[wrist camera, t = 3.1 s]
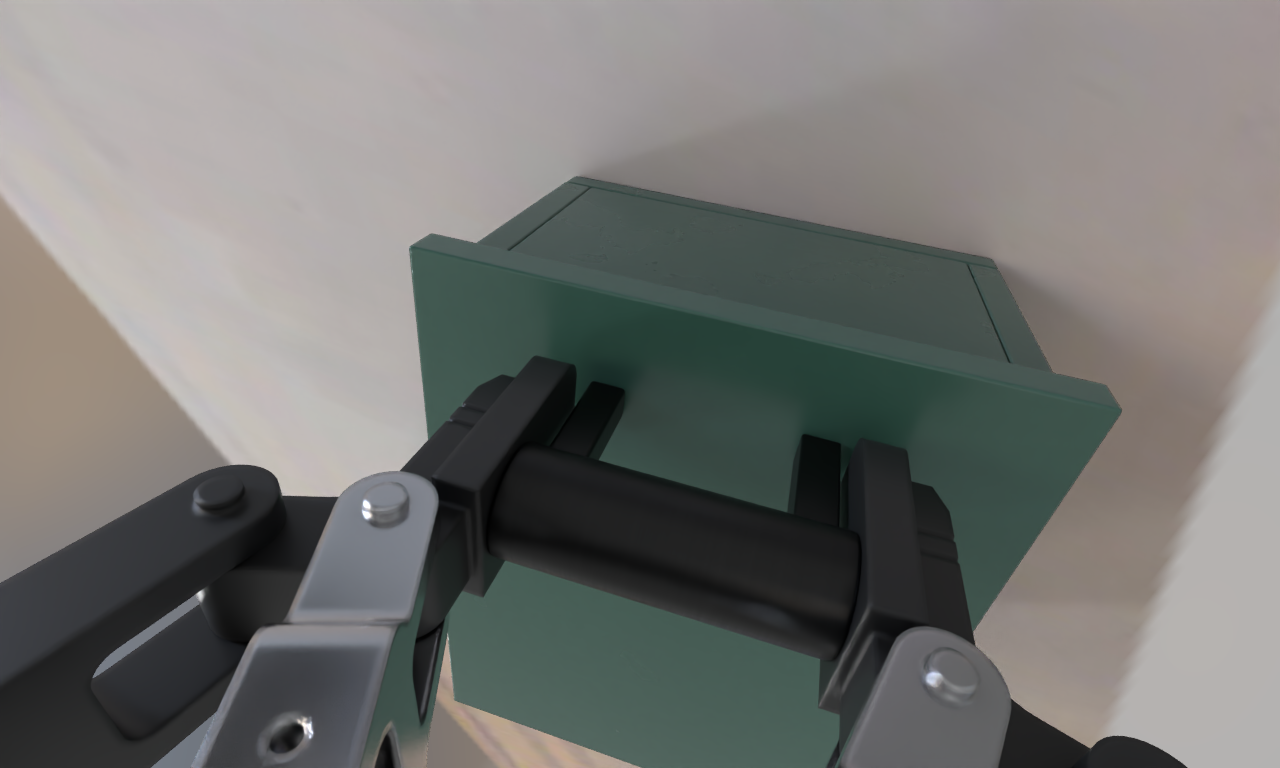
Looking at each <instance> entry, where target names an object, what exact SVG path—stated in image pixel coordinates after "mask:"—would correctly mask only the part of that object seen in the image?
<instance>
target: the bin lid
mask: <svg viewBox="0 0 1280 768" xmlns="http://www.w3.org/2000/svg"><path fill="white" fill-rule="evenodd" d="M409 252H410V262H411V272H412V282H413V292H414V302H415V312H416V322H417V332H418V342H419V352H420V362H421V372H422V382H423V392H424V402H425V412H426V422H427V432H428V440H429V439H430V438H431V437H432V436H433V434H434V433H435V432H436V431H437V430H438V429H439V428H440V427H441V426H442V425H443V424H444V423H445V421H446V420H447V421H449V419H450V416H451V415H452V414H453V413H454V412H455V411H456V410H457V408H458V407H459V406H460V407H462V404H463V402H464V401H465V400H466V399H467V398H468V397H469V395H470V394H471V393H472V392H473V391H474V390H475V389H476V388H477V387H478V386H479V385H481V384H483V383H485V382H487V381H489V380H491V379H493V378H495V377H497V376H499V375H501V374H503V375H507V376H511V377H516V376H517V375H518V374H519V372H520V371H521V370H522V369H523V368H524V367H525V365H526V364H527V363H528V362H529V361H530V360H531V358H532V357H534V356H536V355H537V356H541V357H545V358H549V359H553V360H557V361H561V362H565V363H569V364H573V365H575V367H576V371H577V378H576V393H575V408H574V409H573V411H572V412H571V414H570V415H569V417H568V418H567V420H566V421H565V423H564V424H563V426H562V428H561V429H560V431H559V432H558V434H557V435H556V437H555V438H554V440H553V441H552V443H551V444H550V446H546V445H542V444H539V443H535V442H528V443H525V444H524V445H522V446H521V447H520V448H519V449H518V450H517V451H516V453H515V454H514V455H513V457H512V458H511V460H510V462H509V463H508V465H507V467H506V469H505V471H504V473H503V475H502V477H501V480H500V482H499V485H498V487H497V490H496V493H495V496H494V499H493V503H492V506H491V510H490V515H489V521H488V529H487V545H488V549H489V551H490V553H491V554H492V555H493V556H494V557H496V558H499V559H502V560H505V562H504V564H503V565H502V567H501V569H500V570H499V572H498V574H497V575H496V577H495V579H494V580H493V582H492V584H491V585H490V587H489V589H488V591H487V592H486V594H485V596H484V597H483V598H482V597H479V596H476V595H473V594H470V593H467V592H464V591H462V592H461V593H460V595H459V597H458V598H457V600H456V601H455V603H454V604H453V606H452V608H451V609H450V611H449V616H450V621H449V628H448V643H449V653H450V663H451V673H452V683H453V693H454V700H455V701H458V702H460V703H463V704H466V705H469V706H472V707H474V708H477V709H480V710H483V711H485V712H488V713H491V714H494V715H497V716H499V717H502V718H505V719H508V720H511V721H513V722H516V723H519V724H522V725H524V726H527V727H530V728H533V729H536V730H538V731H541V732H544V733H547V734H550V735H552V736H555V737H558V738H561V739H563V740H566V741H569V742H572V743H575V744H577V745H580V746H583V747H586V748H589V749H591V750H594V751H597V752H600V753H602V754H605V755H608V756H611V757H614V758H616V759H619V760H622V761H625V762H628V763H630V764H633V765H636V766H639V767H641V768H824V767H825V765H826V763H827V761H828V759H829V757H830V755H831V752H832V751H833V749H834V747H835V745H836V744H837V742H838V740H839V729H840V715H838V714H835V713H832V712H829V711H826V710H823V709H820V708H818V698H819V675H820V659H821V660H824V661H832V660H834V659H835V658H836V656H837V655H838V654H839V652H840V650H841V648H842V646H843V644H844V642H845V639H846V636H847V634H848V631H849V628H850V624H851V621H852V617H853V613H854V609H855V604H856V599H857V594H858V588H859V581H860V572H861V544H860V539H859V536H858V534H857V533H856V532H854V531H852V530H849V529H845V528H841V527H839V523H840V484H841V481H842V479H843V476H844V473H845V471H846V468H847V466H848V463H849V461H850V458H851V456H852V453H853V451H854V448H855V446H856V444H857V442H858V440H859V439H860V438H865V439H869V440H873V441H877V442H881V443H884V444H888V445H892V446H896V447H900V448H904V449H906V450H907V452H908V458H909V466H910V474H911V481H913V482H917V483H920V484H924V485H928V486H932V487H933V488H934V490H935V491H936V493H937V494H938V495H939V497H940V498H941V500H942V501H943V503H944V504H945V506H946V507H947V509H948V510H949V511H950V516H951V521H952V526H953V531H954V542H956V547H957V552H958V563H959V564H960V568H961V573H962V579H963V584H964V589H965V594H966V600H967V605H968V610H969V615H970V620H971V626H972V631H974V630H975V628H976V627H977V625H978V624H979V623H980V621H981V620H982V618H983V617H984V615H985V614H986V612H987V611H988V609H989V608H990V606H991V605H992V603H993V602H994V600H995V599H996V597H997V596H998V594H999V593H1000V591H1001V590H1002V589H1003V587H1004V586H1005V584H1006V583H1007V581H1008V580H1009V578H1010V577H1011V575H1012V574H1013V572H1014V571H1015V569H1016V568H1017V566H1018V565H1019V563H1020V562H1021V560H1022V559H1023V558H1024V556H1025V555H1026V553H1027V552H1028V550H1029V549H1030V547H1031V546H1032V544H1033V543H1034V541H1035V540H1036V538H1037V537H1038V535H1039V534H1040V532H1041V531H1042V529H1043V528H1044V527H1045V525H1046V524H1047V522H1048V521H1049V519H1050V518H1051V516H1052V515H1053V513H1054V512H1055V510H1056V509H1057V507H1058V506H1059V504H1060V503H1061V501H1062V500H1063V498H1064V497H1065V495H1066V494H1067V493H1068V491H1069V490H1070V488H1071V487H1072V485H1073V484H1074V482H1075V481H1076V479H1077V478H1078V476H1079V475H1080V473H1081V472H1082V470H1083V469H1084V467H1085V466H1086V464H1087V463H1088V462H1089V460H1090V459H1091V457H1092V456H1093V454H1094V453H1095V451H1096V450H1097V448H1098V447H1099V445H1100V444H1101V442H1102V441H1103V439H1104V438H1105V436H1106V435H1107V433H1108V432H1109V431H1110V429H1111V428H1112V426H1113V425H1114V423H1115V422H1116V420H1117V419H1118V417H1119V416H1120V414H1121V412H1122V409H1121V407H1120V406H1119V404H1118V403H1117V401H1116V399H1115V398H1114V396H1113V395H1112V393H1111V392H1110V390H1109V388H1108V387H1107V386H1106V385H1104V384H1101V383H1096V382H1092V381H1087V380H1083V379H1078V378H1074V377H1069V376H1065V375H1060V374H1056V373H1052V372H1047V371H1043V370H1038V369H1034V368H1029V367H1025V366H1020V365H1016V364H1012V363H1007V362H1003V361H998V360H994V359H989V358H985V357H980V356H976V355H971V354H967V353H963V352H958V351H954V350H949V349H945V348H940V347H936V346H931V345H927V344H922V343H918V342H914V341H909V340H905V339H900V338H896V337H891V336H887V335H882V334H878V333H874V332H869V331H865V330H860V329H856V328H851V327H847V326H842V325H838V324H833V323H829V322H825V321H820V320H816V319H811V318H807V317H802V316H798V315H793V314H789V313H784V312H780V311H776V310H771V309H767V308H762V307H758V306H753V305H749V304H744V303H740V302H736V301H731V300H727V299H722V298H718V297H713V296H709V295H704V294H700V293H695V292H691V291H687V290H682V289H678V288H673V287H669V286H664V285H660V284H655V283H651V282H646V281H642V280H638V279H633V278H629V277H624V276H620V275H615V274H611V273H606V272H602V271H597V270H593V269H589V268H584V267H580V266H575V265H571V264H566V263H562V262H557V261H553V260H549V259H544V258H540V257H535V256H531V255H526V254H522V253H517V252H513V251H508V250H504V249H500V248H495V247H491V246H486V245H482V244H477V243H473V242H468V241H464V240H459V239H455V238H451V237H446V236H442V235H437V234H429V235H428V236H426V237H424V238H423V239H421V240H419V241H418V242H416V243H414V244H413V245H411V246H410V248H409Z"/></svg>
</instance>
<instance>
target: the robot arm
mask: <svg viewBox="0 0 1280 768" xmlns="http://www.w3.org/2000/svg"><path fill="white" fill-rule="evenodd" d="M576 378H577V371H576V367H575V365H573V364H569V363H565V362H561V361H557V360H553V359H549V358H545V357H541V356H537V355H536V356H534V357H532V358H531V360H530V361H529V362H528V363H527V364H526V365H525V367H524V368H523V369H522V370H521V371H520V372H519V374H518V375H517V376H516V377H511V376H507V375H503V374H501V375H499V376H497V377H495V378H493V379H491V380H489V381H487V382H485V383H483V384H481V385H479V386H478V387H477V388H476V389H475V390H474V391H473V392H472V393H471V394H470V395H469V397H468V398H467V399H466V400H465V401H464V402H463V404H462V407H460V406H459V407H458V408H457V410H456V411H455V412H454V413H453V414H452V415H451V416H450V419H449V421H447V420H446V421H445V423H444V424H443V425H442V426H441V427H440V428H439V429H438V430H437V431H436V432H435V433H434V434H433V436H432V437H431V438H430V439H429V440H428V441H427V442H426V443H425V444H424V445H423V446H422V447H421V449H420V450H419V451H418V452H417V453H416V454H415V455H414V456H413V457H412V458H411V459H410V460H409V462H408V463H407V464H406V465H405V466H404V467H403V468H402V469H401V470H400V471H389V472H382V473H378V474H374V475H371V476H368V477H365V478H363V479H361V480H359V481H357V482H355V483H354V484H352V485H351V486H349V487H348V488H347V489H346V490H345V491H344V492H343V493H342V494H341V495H340V496H339V497H308V496H282V493H281V490H280V486H279V483H278V480H277V478H276V477H275V476H274V474H272V473H271V472H270V471H268V470H266V469H264V468H261V467H257V466H252V465H230V466H224V467H219V468H216V469H212V470H208V471H206V472H203V473H201V474H198V475H196V476H194V477H192V478H190V479H188V480H186V481H184V482H183V483H181V484H179V485H177V486H176V487H174V488H172V489H170V490H169V491H166V492H165V493H163V494H161V495H159V496H157V497H156V498H154V499H152V500H150V501H148V502H147V503H145V504H143V505H141V506H139V507H137V508H136V509H134V510H132V511H130V512H128V513H126V514H125V515H123V516H121V517H119V518H117V519H116V520H114V521H112V522H110V523H108V524H106V525H105V526H103V527H101V528H99V529H97V530H96V531H94V532H92V533H90V534H88V535H87V536H85V537H83V538H81V539H79V540H78V541H76V542H74V543H72V544H70V545H68V546H67V547H65V548H63V549H61V550H60V551H58V552H56V553H54V554H52V555H50V556H48V557H47V558H45V559H43V560H41V561H40V562H38V563H36V564H34V565H32V566H30V567H29V568H27V569H25V570H23V571H21V572H20V573H18V574H16V575H14V576H12V577H10V578H9V579H7V580H5V581H4V582H1V583H0V768H151V767H152V766H153V765H154V764H156V763H157V762H158V761H159V760H160V759H161V758H162V757H164V756H165V755H166V754H167V753H168V752H169V751H171V750H172V749H173V748H174V747H175V746H177V745H178V744H179V743H180V742H181V741H182V740H184V739H185V738H186V737H187V736H188V735H190V734H191V733H192V732H193V731H194V730H195V729H196V728H198V727H199V726H200V725H201V724H202V723H204V722H205V721H206V720H207V719H208V718H209V717H211V716H212V715H213V714H214V713H215V712H216V714H215V716H214V719H213V721H212V723H211V725H210V727H209V729H208V731H207V733H206V736H205V738H204V740H203V742H202V744H201V746H200V748H199V751H198V753H197V755H196V757H195V759H194V761H193V764H192V766H191V768H427V748H428V739H429V732H430V726H431V721H432V715H433V710H434V705H435V699H436V694H437V689H438V683H439V678H440V672H441V667H442V661H443V656H444V650H445V645H446V639H447V634H448V628H449V621H450V616H449V611H450V609H451V608H452V606H453V604H454V603H455V601H456V600H457V598H458V597H459V595H460V593H461V592H462V591H464V592H467V593H470V594H473V595H476V596H479V597H482V598H483V597H484V596H485V594H486V592H487V591H488V589H489V587H490V585H491V584H492V582H493V580H494V579H495V577H496V575H497V574H498V572H499V570H500V569H501V567H502V565H503V564H504V562H505V560H502V559H499V558H496V557H494V556H493V555H492V554H491V553H490V551H489V549H488V545H487V529H488V521H489V515H490V510H491V506H492V503H493V499H494V496H495V493H496V490H497V487H498V485H499V482H500V480H501V477H502V475H503V473H504V471H505V469H506V467H507V465H508V463H509V462H510V460H511V458H512V457H513V455H514V454H515V453H516V451H517V450H518V449H519V448H520V447H521V446H522V445H524V444H525V443H528V442H535V443H539V444H542V445H546V446H550V444H551V443H552V441H553V440H554V438H555V437H556V435H557V434H558V432H559V431H560V429H561V428H562V426H563V424H564V423H565V421H566V420H567V418H568V417H569V415H570V414H571V412H572V411H573V409H574V408H575V393H576ZM839 527H841V528H845V529H849V530H852V531H854V532H856V533H857V534H858V536H859V539H860V544H861V572H860V581H859V588H858V594H857V599H856V604H855V609H854V613H853V617H852V621H851V624H850V628H849V631H848V634H847V636H846V639H845V642H844V644H843V646H842V648H841V650H840V652H839V654H838V655H837V656H836V658H835V659H834V660H832V661H824V660H821V659H820V675H819V698H818V708H820V709H823V710H826V711H829V712H832V713H835V714H838V715H840V729H839V740H838V742H837V744H836V745H835V747H834V749H833V751H832V752H831V755H830V757H829V759H828V761H827V763H826V765H825V767H824V768H1187V767H1186V766H1185V765H1184V764H1182V763H1181V762H1180V761H1178V760H1177V759H1175V758H1174V757H1172V756H1171V755H1170V754H1168V753H1166V752H1164V751H1163V750H1161V749H1159V748H1157V747H1155V746H1153V745H1151V744H1149V743H1147V742H1144V741H1141V740H1138V739H1135V738H1131V737H1125V736H1111V737H1106V738H1103V739H1102V740H1100V741H1098V742H1097V743H1096V744H1095V745H1094V746H1093V747H1092V748H1091V749H1090V748H1088V747H1086V746H1085V745H1083V744H1081V743H1080V742H1078V741H1076V740H1075V739H1073V738H1071V737H1069V736H1068V735H1066V734H1064V733H1063V732H1061V731H1059V730H1058V729H1056V728H1054V727H1052V726H1051V725H1049V724H1047V723H1046V722H1044V721H1042V720H1040V719H1039V718H1037V717H1035V716H1034V715H1032V714H1031V713H1029V712H1028V711H1026V710H1025V709H1023V708H1022V707H1021V706H1020V705H1018V704H1017V703H1016V702H1014V701H1013V700H1012V699H1011V697H1010V694H1009V690H1008V687H1007V685H1006V683H1005V681H1004V679H1003V677H1002V675H1001V674H1000V672H999V671H998V669H997V668H996V666H995V665H994V664H993V663H992V662H991V660H990V659H989V658H988V657H987V656H986V655H985V654H984V653H983V652H982V651H980V650H979V649H978V648H977V647H976V646H975V641H974V636H973V631H972V626H971V620H970V615H969V610H968V605H967V600H966V594H965V589H964V584H963V579H962V573H961V568H960V564H959V563H958V552H957V547H956V542H954V531H953V526H952V521H951V516H950V511H949V510H948V509H947V507H946V506H945V504H944V503H943V501H942V500H941V498H940V497H939V495H938V494H937V493H936V491H935V490H934V488H933V487H932V486H928V485H924V484H920V483H917V482H913V481H911V474H910V466H909V458H908V452H907V450H906V449H904V448H900V447H896V446H892V445H888V444H884V443H881V442H877V441H873V440H869V439H865V438H860V439H859V440H858V442H857V444H856V446H855V448H854V451H853V453H852V456H851V458H850V461H849V463H848V466H847V468H846V471H845V473H844V476H843V479H842V481H841V484H840V523H839ZM194 595H196V597H197V599H198V602H199V605H197V606H196V607H195V608H193V609H192V610H190V611H189V612H188V613H186V614H185V615H184V616H182V617H180V618H179V619H178V620H176V621H175V622H173V623H172V624H171V625H169V626H168V627H166V628H165V629H164V630H162V631H161V632H159V633H158V634H156V635H155V636H154V637H152V638H151V639H149V640H148V641H147V642H145V643H144V644H142V645H141V646H139V647H138V648H137V649H135V650H134V651H132V652H131V653H130V654H128V655H127V656H125V657H124V658H123V659H121V660H120V661H118V662H117V663H115V664H114V665H113V666H111V667H110V668H108V669H107V670H106V671H104V672H103V673H101V674H100V675H98V676H96V677H95V678H93V679H92V677H93V675H94V673H95V671H96V669H97V668H98V667H99V665H100V664H101V663H102V662H103V661H104V659H105V658H106V657H108V656H109V655H110V654H111V653H112V652H113V651H115V650H116V649H117V648H119V647H120V646H122V645H123V644H125V643H126V642H127V641H129V640H130V639H132V638H133V637H135V636H136V635H137V634H139V633H140V632H142V631H143V630H145V629H146V628H148V627H149V626H151V625H152V624H153V623H155V622H156V621H158V620H159V619H161V618H162V617H163V616H165V615H166V614H168V613H169V612H171V611H172V610H174V609H175V608H177V607H178V606H179V605H181V604H182V603H184V602H185V601H187V600H188V599H190V598H191V597H192V596H194Z"/></svg>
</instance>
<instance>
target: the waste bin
mask: <svg viewBox="0 0 1280 768" xmlns="http://www.w3.org/2000/svg"><path fill="white" fill-rule="evenodd" d="M477 244H482V245H486V246H491V247H495V248H500V249H504V250H508V251H513V252H517V253H522V254H526V255H531V256H535V257H540V258H544V259H549V260H553V261H557V262H562V263H566V264H571V265H575V266H580V267H584V268H589V269H593V270H597V271H602V272H606V273H611V274H615V275H620V276H624V277H629V278H633V279H638V280H642V281H646V282H651V283H655V284H660V285H664V286H669V287H673V288H678V289H682V290H687V291H691V292H695V293H700V294H704V295H709V296H713V297H718V298H722V299H727V300H731V301H736V302H740V303H744V304H749V305H753V306H758V307H762V308H767V309H771V310H776V311H780V312H784V313H789V314H793V315H798V316H802V317H807V318H811V319H816V320H820V321H825V322H829V323H833V324H838V325H842V326H847V327H851V328H856V329H860V330H865V331H869V332H874V333H878V334H882V335H887V336H891V337H896V338H900V339H905V340H909V341H914V342H918V343H922V344H927V345H931V346H936V347H940V348H945V349H949V350H954V351H958V352H963V353H967V354H971V355H976V356H980V357H985V358H989V359H994V360H998V361H1003V362H1007V363H1012V364H1016V365H1020V366H1025V367H1029V368H1034V369H1038V370H1043V371H1047V372H1052V373H1053V371H1052V369H1051V368H1050V366H1049V364H1048V362H1047V360H1046V358H1045V356H1044V354H1043V353H1042V351H1041V349H1040V347H1039V345H1038V343H1037V341H1036V339H1035V337H1034V336H1033V334H1032V332H1031V330H1030V328H1029V326H1028V324H1027V322H1026V321H1025V319H1024V317H1023V315H1022V313H1021V311H1020V309H1019V307H1018V305H1017V304H1016V302H1015V300H1014V298H1013V296H1012V294H1011V292H1010V290H1009V289H1008V287H1007V285H1006V283H1005V281H1004V279H1003V277H1002V275H1001V274H1000V272H999V270H997V267H996V265H995V263H994V261H993V260H992V259H989V258H984V257H979V256H974V255H969V254H964V253H959V252H954V251H949V250H944V249H939V248H934V247H929V246H924V245H919V244H914V243H909V242H904V241H899V240H894V239H889V238H884V237H879V236H874V235H869V234H864V233H859V232H854V231H849V230H844V229H839V228H834V227H829V226H824V225H819V224H813V223H808V222H803V221H798V220H793V219H788V218H783V217H778V216H773V215H768V214H763V213H758V212H753V211H748V210H743V209H738V208H733V207H728V206H723V205H718V204H713V203H708V202H703V201H698V200H693V199H688V198H683V197H678V196H673V195H668V194H663V193H658V192H653V191H648V190H643V189H638V188H633V187H628V186H623V185H618V184H613V183H608V182H603V181H598V180H593V179H588V178H583V177H578V176H576V177H573V178H572V179H571V180H569V181H568V182H566V183H564V184H562V185H561V186H559V187H558V188H556V189H555V190H553V191H552V192H551V193H549V194H548V195H546V196H545V197H543V198H542V199H540V200H539V201H537V202H536V203H534V204H533V205H531V206H530V207H529V208H527V209H526V210H524V211H523V212H521V213H520V214H518V215H517V216H515V217H514V218H512V219H511V220H509V221H508V222H507V223H505V224H504V225H502V226H501V227H499V228H498V229H496V230H495V231H493V232H492V233H490V234H489V235H487V236H486V237H484V238H483V239H482V240H480V241H479V242H477Z"/></svg>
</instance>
